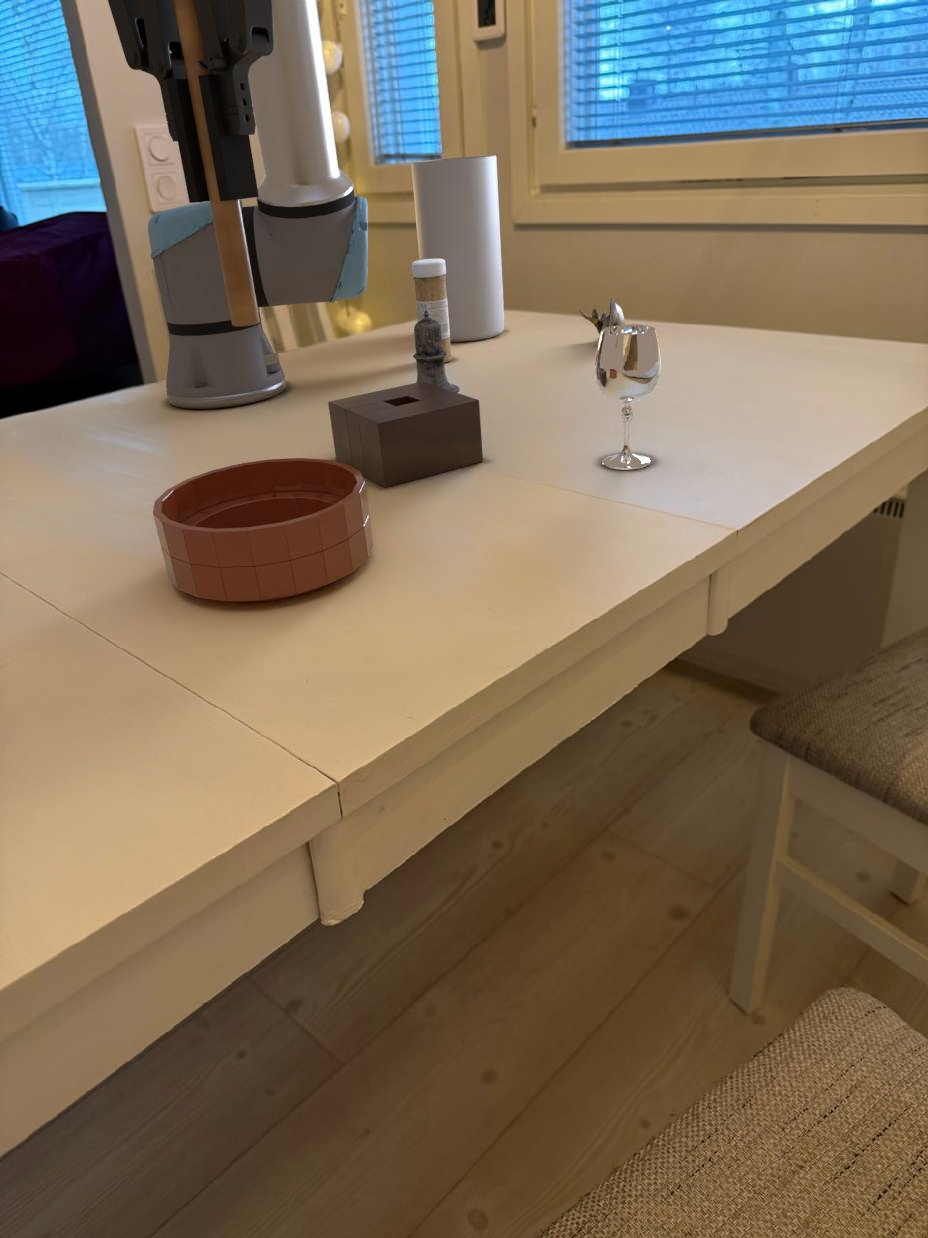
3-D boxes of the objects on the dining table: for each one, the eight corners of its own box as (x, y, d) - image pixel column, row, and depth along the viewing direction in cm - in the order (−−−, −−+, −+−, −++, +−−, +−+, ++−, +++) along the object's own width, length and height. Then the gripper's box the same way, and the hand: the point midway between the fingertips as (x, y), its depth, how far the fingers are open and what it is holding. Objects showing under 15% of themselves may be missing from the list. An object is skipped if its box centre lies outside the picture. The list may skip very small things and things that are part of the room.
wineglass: (619, 476, 82) (620, 339, 76) (582, 460, 86) (581, 329, 81) (670, 463, 84) (675, 328, 78) (632, 448, 88) (634, 320, 83)
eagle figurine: (567, 336, 132) (600, 333, 124) (586, 289, 132) (620, 283, 124) (608, 359, 136) (642, 357, 128) (627, 313, 135) (662, 309, 127)
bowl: (148, 561, 72) (130, 489, 69) (324, 513, 79) (313, 445, 76) (208, 633, 61) (189, 550, 58) (408, 570, 67) (400, 492, 64)
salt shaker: (455, 429, 98) (447, 314, 93) (403, 430, 100) (391, 316, 94) (466, 414, 104) (458, 304, 98) (416, 415, 105) (406, 306, 99)
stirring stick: (228, 324, 60) (167, -5, 52) (254, 320, 61) (198, -5, 52) (237, 327, 59) (177, -11, 50) (264, 323, 59) (208, -10, 51)
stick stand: (336, 460, 92) (327, 401, 89) (428, 438, 96) (422, 381, 94) (385, 487, 84) (377, 423, 81) (483, 461, 88) (479, 399, 85)
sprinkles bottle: (449, 356, 132) (441, 256, 125) (455, 362, 128) (448, 259, 121) (417, 359, 131) (408, 259, 125) (423, 366, 127) (414, 263, 121)
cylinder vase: (481, 344, 137) (470, 158, 126) (411, 341, 143) (394, 163, 132) (518, 327, 147) (511, 153, 135) (451, 325, 153) (438, 158, 141)
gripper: (-29, -303, 46) (92, 210, 57) (192, -403, 39) (281, 199, 50) (88, -258, 52) (178, 199, 62) (298, -338, 45) (358, 189, 56)
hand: (224, 198), depth 56 cm, fingers closed on stirring stick, 2 cm apart
